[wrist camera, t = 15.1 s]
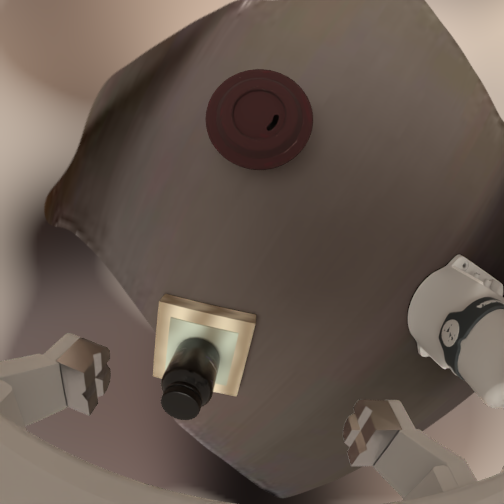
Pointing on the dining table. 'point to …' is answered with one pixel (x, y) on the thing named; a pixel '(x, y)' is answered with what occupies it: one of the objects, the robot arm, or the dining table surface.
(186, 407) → the supplement bottle
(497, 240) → the dining table surface
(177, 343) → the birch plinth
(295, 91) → the coffee cup
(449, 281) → the robot arm
